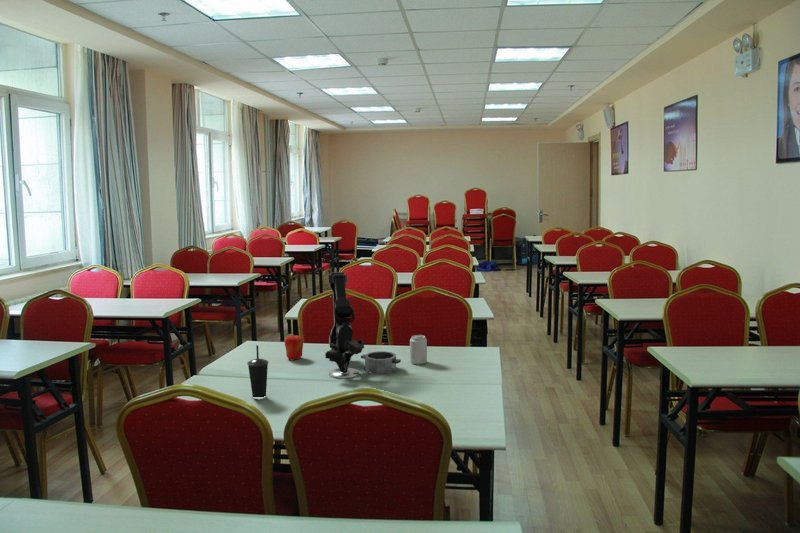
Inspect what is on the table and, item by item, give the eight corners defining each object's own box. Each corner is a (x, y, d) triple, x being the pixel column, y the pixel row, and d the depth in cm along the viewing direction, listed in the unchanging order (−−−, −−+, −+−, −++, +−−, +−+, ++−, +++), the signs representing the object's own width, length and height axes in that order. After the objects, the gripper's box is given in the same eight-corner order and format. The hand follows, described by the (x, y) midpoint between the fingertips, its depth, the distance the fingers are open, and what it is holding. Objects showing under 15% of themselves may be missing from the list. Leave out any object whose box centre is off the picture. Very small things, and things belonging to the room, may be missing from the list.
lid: (323, 376, 263) (322, 363, 263) (340, 368, 274) (339, 356, 274) (348, 380, 257) (348, 367, 257) (365, 372, 268) (364, 359, 268)
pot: (354, 370, 271) (354, 356, 270) (370, 362, 282) (370, 349, 282) (391, 376, 262) (391, 362, 262) (406, 367, 274) (406, 354, 273)
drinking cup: (250, 394, 241) (248, 343, 238) (270, 394, 242) (269, 342, 239) (247, 401, 234) (245, 348, 231) (268, 400, 234) (266, 347, 231)
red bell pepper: (294, 362, 284) (293, 336, 282) (280, 359, 288) (280, 334, 287) (307, 357, 291) (307, 332, 289) (294, 355, 295) (293, 330, 294)
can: (425, 365, 277) (425, 338, 276) (408, 364, 279) (408, 338, 277) (428, 360, 284) (428, 334, 283) (411, 360, 286) (411, 333, 284)
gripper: (347, 341, 252) (348, 379, 254) (371, 331, 268) (372, 367, 270) (324, 338, 257) (325, 375, 259) (349, 328, 273) (350, 363, 275)
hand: (344, 370), depth 266 cm, fingers closed on lid, 3 cm apart
